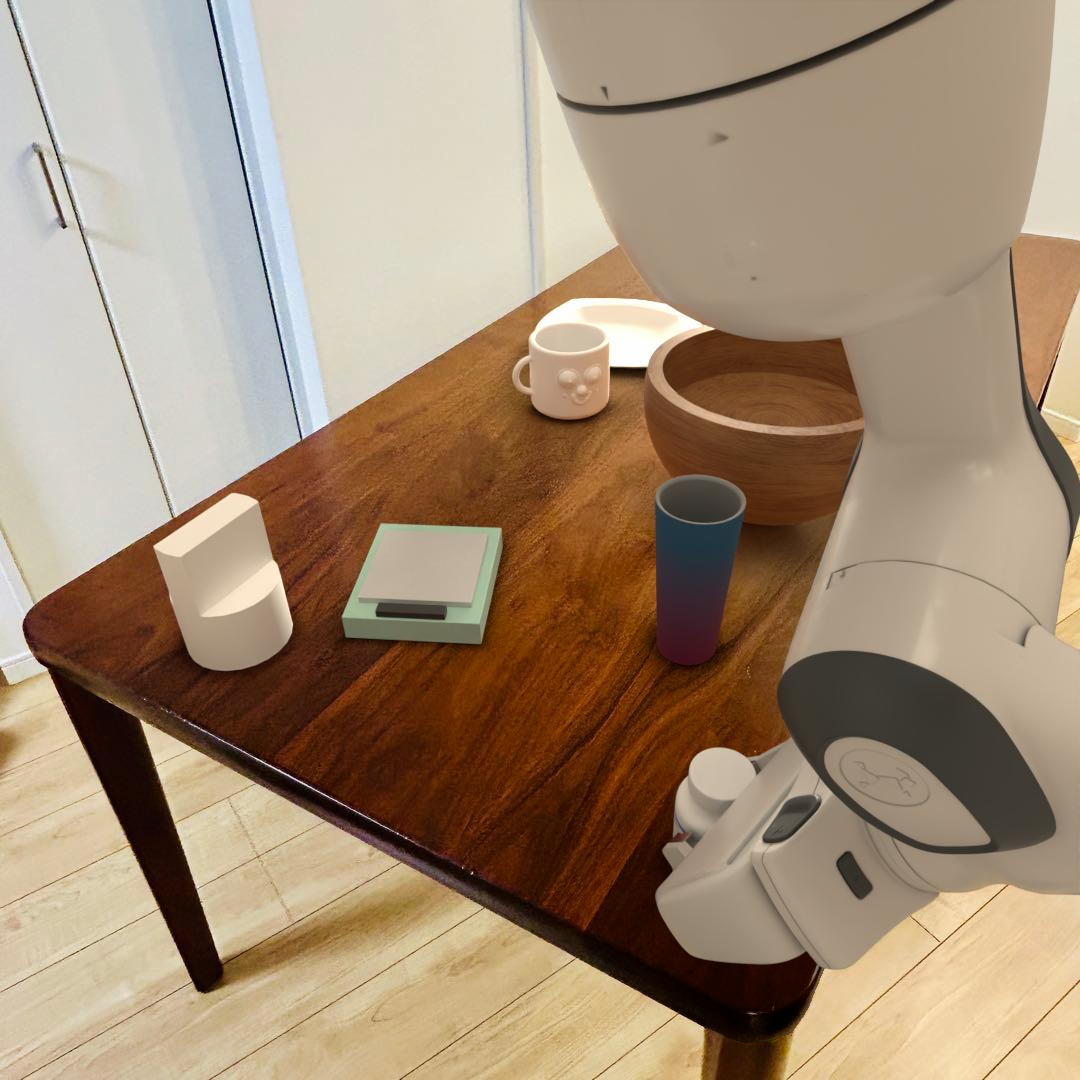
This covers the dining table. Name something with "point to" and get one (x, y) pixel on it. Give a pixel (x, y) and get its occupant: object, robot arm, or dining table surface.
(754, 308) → the robot arm
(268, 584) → the base with upright slab
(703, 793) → the pill bottle
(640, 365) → the plate
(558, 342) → the mug
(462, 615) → the scale
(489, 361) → the dining table surface
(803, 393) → the bowl
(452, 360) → the dining table surface
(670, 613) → the cup
